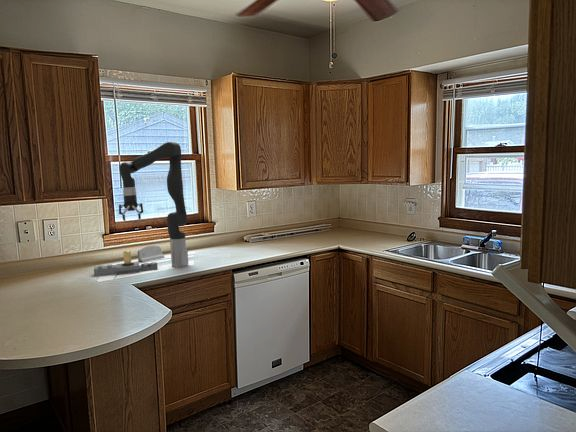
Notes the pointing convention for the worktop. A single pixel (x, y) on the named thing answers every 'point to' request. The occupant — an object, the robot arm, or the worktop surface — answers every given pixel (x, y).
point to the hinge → (150, 253)
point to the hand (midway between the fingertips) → (131, 220)
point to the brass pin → (127, 258)
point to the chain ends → (123, 268)
